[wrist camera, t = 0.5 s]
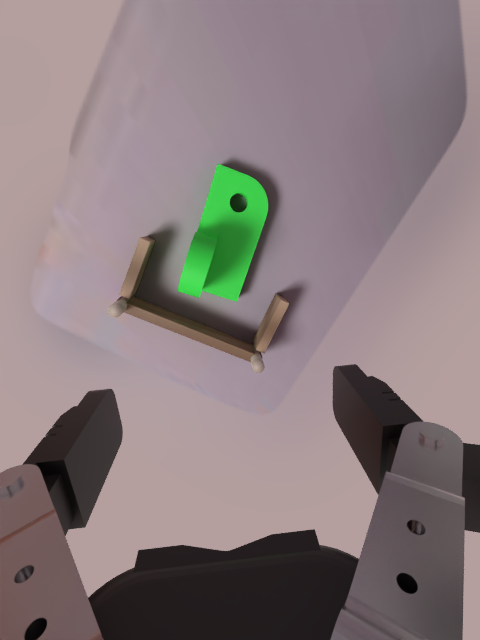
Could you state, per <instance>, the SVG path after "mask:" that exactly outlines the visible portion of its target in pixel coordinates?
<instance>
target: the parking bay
mask: <svg viewBox="0 0 480 640" xmlns="http://www.w3.org/2000/svg"><path fill="white" fill-rule="evenodd" d="M155 241H156V240H153V239H151V238H149V237H147V236H146V237H141V238H140V239H139V242H138V245H137V247H136V250H135V253H134V256H133V258H132V261H131V264H130V267H129V269H128V272H127V275H126V278H125V280H124V283H123V286H122V289H121V291H120V294H119V295H121V297H120V298H119V299H118V300H117V301H116V302H115V303H114V304H113V305H111V306H110V307H109V309H108V312H109V314H110V315H111V316H112V317H119V316H120V315H121V314H122V313H123V312H125V313H127V314H130V315H132V316H135V317H137V318H140V319H142V320H145V321H147V322H150V323H153V324H155V325H158V326H160V327H163V328H165V329H168V330H170V331H173V332H175V333H178V334H181V335H183V336H186V337H188V338H191V339H193V340H196V341H198V342H201V343H203V344H206V345H209V346H211V347H214V348H216V349H219V350H221V351H224V352H226V353H229V354H231V355H234V356H236V357H239V358H242V359H244V360H247V361H249V362H251V364H252V367H253V370H254V371H255V372H256V373H260V372H262V371H263V370H264V364H263V361H262V355H261V352H262V353H265V351H266V349H267V347H268V345H269V343H270V341H271V339H272V337H273V335H274V333H275V331H276V329H277V327H278V325H279V323H280V321H281V319H282V317H283V315H284V313H285V311H286V309H287V307H288V305H289V303H288V301H287V300H286V299H285V298H284V297H282V296H280V295H278V294H275V296H274V298H273V300H272V302H271V304H270V306H269V308H268V310H267V312H266V314H265V316H264V318H263V320H262V323H261V325H260V327H259V329H258V331H257V333H256V335H255V337H254V339H253V342H254V344H250V343H248V342H245V341H243V340H240V339H238V338H235V337H233V336H230V335H228V334H225V333H223V332H220V331H218V330H215V329H213V328H211V327H208V326H206V325H203V324H201V323H198V322H196V321H193V320H191V319H188V318H186V317H183V316H181V315H178V314H176V313H173V312H171V311H169V310H166V309H164V308H161V307H159V306H156V305H154V304H151V303H149V302H146V301H144V300H141V299H139V298H136V297H134V296H133V295H134V294H135V293H136V292H137V289H138V286H139V284H140V281H141V278H142V276H143V273H144V270H145V268H146V265H147V262H148V260H149V257H150V254H151V252H152V249H153V247H154V244H155Z"/></svg>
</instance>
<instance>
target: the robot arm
mask: <svg viewBox="0 0 480 640" xmlns="http://www.w3.org/2000/svg"><path fill="white" fill-rule="evenodd" d="M333 411H334V415H335V418H336V421H337V422H338V424H339V426H340V428H341V430H342V432H343V433H344V435H345V437H346V438H347V440H348V442H349V444H350V446H351V448H352V449H353V451H354V453H355V455H356V456H357V458H358V460H359V462H360V463H361V465H362V467H363V469H364V470H365V472H366V474H367V476H368V478H369V479H370V481H371V483H372V485H373V486H374V488H375V490H376V492H377V493H378V495H379V496H378V499H377V503H376V506H375V509H374V512H373V516H372V519H371V522H370V525H369V529H368V532H367V535H366V539H365V542H364V545H363V548H362V552H361V555H360V558H359V559H358V558H356V557H354V556H352V555H350V554H348V553H345V552H343V551H341V550H338V549H335V548H331V547H327V546H322V545H319V543H318V539H317V536H316V533H315V530H306V531H297V532H289V533H281V534H273V535H269V536H267V537H264V538H262V539H259V540H256V541H254V542H251V543H249V544H247V545H244V546H241V547H238V548H236V549H233V550H230V551H219V550H212V549H205V548H199V547H191V546H184V545H179V546H170V547H163V548H154V549H146V550H139V551H138V555H137V559H136V563H135V567H134V568H132V569H130V570H128V571H126V572H124V573H122V574H120V575H118V576H116V577H115V578H113V579H112V580H110V581H108V582H107V583H106V584H104V585H103V586H102V587H100V588H99V589H98V590H96V591H95V592H94V593H93V594H92V595H91V596H90V597H89V598H88V597H87V594H86V591H85V589H84V586H83V584H82V581H81V578H80V575H79V573H78V570H77V567H76V564H75V562H74V559H73V556H72V554H71V551H70V548H69V545H68V543H67V540H66V537H65V536H66V534H67V531H68V529H74V528H82V527H85V526H86V524H87V522H88V520H89V517H90V515H91V513H92V510H93V508H94V505H95V503H96V501H97V498H98V496H99V493H100V491H101V489H102V487H103V484H104V482H105V480H106V477H107V475H108V473H109V470H110V468H111V466H112V463H113V461H114V459H115V456H116V454H117V452H118V449H119V447H120V445H121V442H122V424H121V420H120V415H119V411H118V407H117V402H116V398H115V394H114V392H113V390H112V389H105V390H95V391H89V392H88V393H87V394H86V395H85V397H84V398H83V399H82V401H81V402H80V403H79V405H78V406H75V407H72V408H71V409H70V410H68V411H67V412H66V413H64V414H63V415H61V416H60V418H59V419H58V420H57V421H56V423H55V424H54V425H53V426H52V427H53V428H51V429H50V430H49V432H48V433H47V434H46V437H44V438H43V439H42V440H41V442H40V443H39V444H38V446H37V447H36V448H35V449H34V451H33V452H32V453H31V455H30V456H29V457H28V458H27V460H26V461H25V462H24V463H23V465H19V466H15V467H12V468H9V469H7V470H5V471H3V472H1V473H0V640H462V629H463V579H464V575H463V574H464V530H468V531H473V532H479V533H480V445H475V444H467V443H462V440H461V439H460V438H459V437H458V436H457V435H456V434H455V433H454V432H452V431H451V430H449V429H448V428H445V427H443V426H441V425H438V424H435V423H430V422H423V421H422V420H421V419H420V417H419V416H418V415H416V413H415V412H414V411H413V410H412V409H410V407H409V406H408V405H407V404H406V403H405V402H404V401H403V400H401V399H400V397H399V396H398V395H397V394H396V393H394V391H393V390H392V389H391V388H390V387H389V386H388V385H387V384H386V383H385V382H383V381H381V380H379V379H377V378H375V377H373V376H370V377H367V376H366V375H365V374H364V372H363V371H362V370H361V369H360V368H359V367H358V366H357V365H355V364H354V365H345V366H335V367H334V370H333Z"/></svg>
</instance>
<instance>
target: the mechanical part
mask: <svg viewBox="0 0 480 640" xmlns="http://www.w3.org/2000/svg"><path fill="white" fill-rule="evenodd" d="M236 194H239V195H242V196H243V197H244V198H245V199H246V203H247V205H246V208H245V210H244V211H243V212H240V213H238V212H235V211H233V210H232V208H231V207H230V199H231V197H232V196H234V195H236ZM267 213H268V199H267V195H266V193H265V191H264V189H263V187H262V186H261V185H260V183H259V182H258V181H257V180H255V179H254V178H252V177H250V176H248V175H246V174H243V173H241V172H238V171H235V170H233V169H230V168H228V167H225V166H222V165H220V164H217V168H216V171H215V175H214V178H213V181H212V185H211V188H210V191H209V195H208V198H207V202H206V205H205V208H204V212H203V215H202V218H201V222H200V225H199V228H198V231H197V232H196V233H195V235H194V237H193V240H192V243H191V246H190V249H189V252H188V255H187V258H186V261H185V265H184V268H183V272H182V275H181V279H180V283H179V287H178V291H179V292H182V293H185V294H188V295H192V296H195V297H198V298H199V297H200V294H201V291H205V292H208V293H211V294H214V295H217V296H220V297H224V298H227V299H230V300H233V301H236V302H237V300H238V297H239V295H240V292H241V289H242V286H243V283H244V280H245V277H246V274H247V272H248V269H249V266H250V263H251V260H252V257H253V254H254V251H255V249H256V246H257V243H258V240H259V237H260V234H261V231H262V228H263V226H264V223H265V220H266V217H267Z"/></svg>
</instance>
